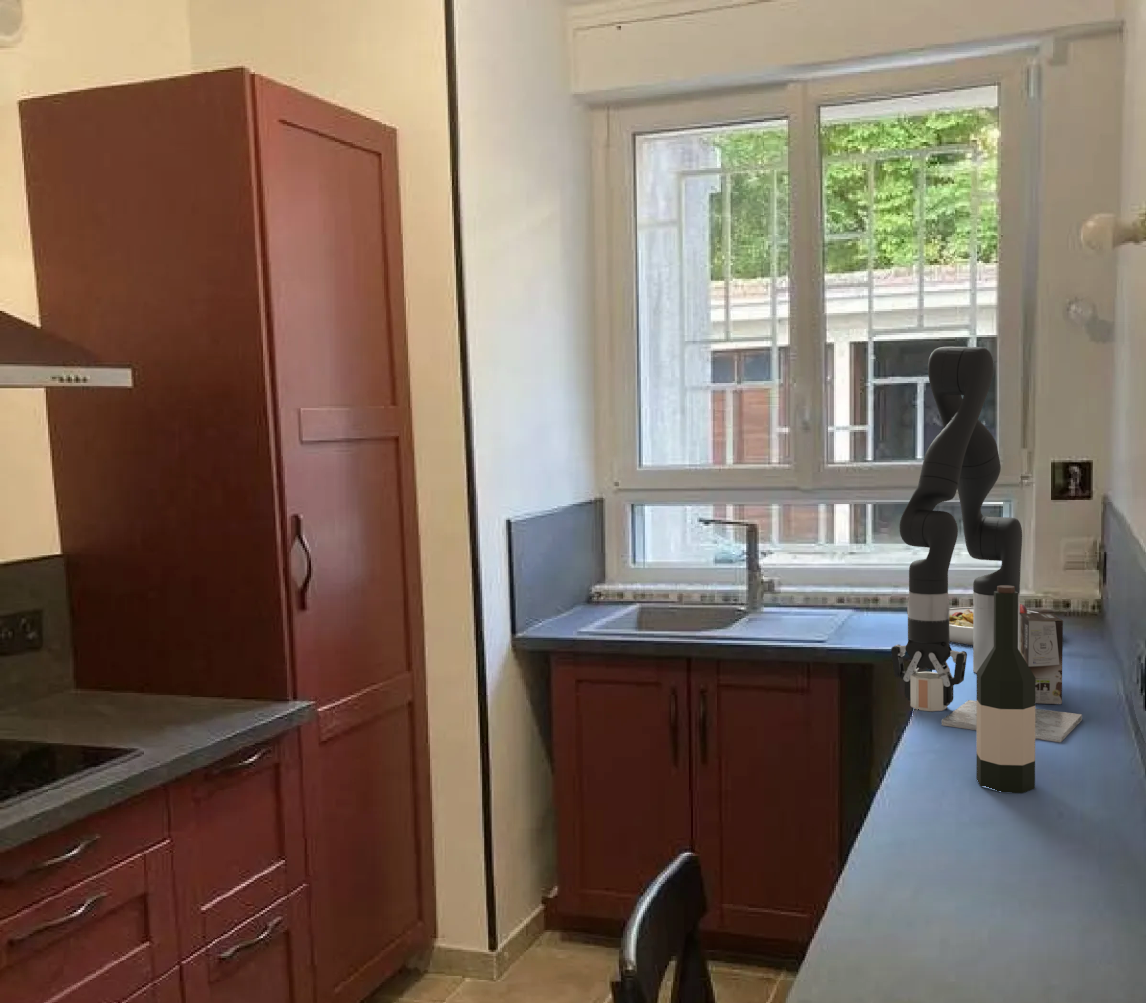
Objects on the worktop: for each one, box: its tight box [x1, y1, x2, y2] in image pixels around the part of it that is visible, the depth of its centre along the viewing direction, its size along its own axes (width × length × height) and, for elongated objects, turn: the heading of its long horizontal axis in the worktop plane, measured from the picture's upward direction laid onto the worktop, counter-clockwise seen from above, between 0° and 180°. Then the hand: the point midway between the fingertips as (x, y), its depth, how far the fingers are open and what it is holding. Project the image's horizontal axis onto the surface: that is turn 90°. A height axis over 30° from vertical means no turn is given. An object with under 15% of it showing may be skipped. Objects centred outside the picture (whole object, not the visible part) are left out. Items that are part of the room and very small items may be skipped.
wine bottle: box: [975, 585, 1036, 794], centre depth 165 cm, size 8×8×30 cm
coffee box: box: [1019, 612, 1064, 705], centre depth 214 cm, size 9×6×16 cm
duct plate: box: [941, 699, 1083, 743], centre depth 198 cm, size 16×20×6 cm
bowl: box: [949, 603, 1039, 646], centre depth 273 cm, size 30×30×8 cm
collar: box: [910, 671, 948, 712], centre depth 210 cm, size 6×6×6 cm
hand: (928, 702), depth 210 cm, fingers closed on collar, 6 cm apart
